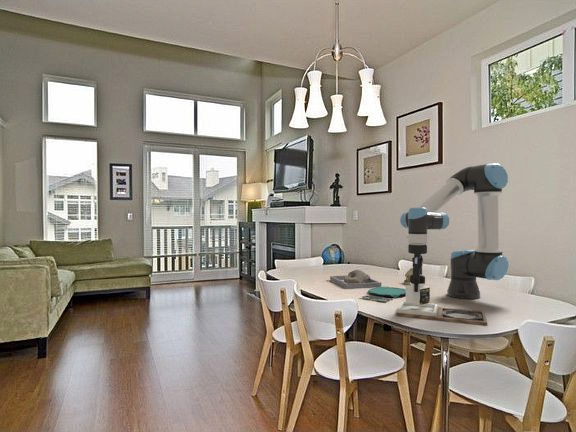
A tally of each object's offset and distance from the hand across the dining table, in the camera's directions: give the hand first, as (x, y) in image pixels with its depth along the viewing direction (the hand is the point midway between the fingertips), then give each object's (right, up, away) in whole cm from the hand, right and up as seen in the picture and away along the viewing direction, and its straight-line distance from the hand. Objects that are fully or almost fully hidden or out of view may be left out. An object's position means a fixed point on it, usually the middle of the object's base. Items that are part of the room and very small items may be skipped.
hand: (417, 296), depth 159 cm
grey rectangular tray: (-15, -6, +66) cm, 68 cm away
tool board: (+8, -7, -3) cm, 11 cm away
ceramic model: (+20, -6, +63) cm, 66 cm away
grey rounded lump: (-15, -6, +64) cm, 66 cm away
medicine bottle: (0, -3, 0) cm, 3 cm away
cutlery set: (-6, -7, +33) cm, 35 cm away
